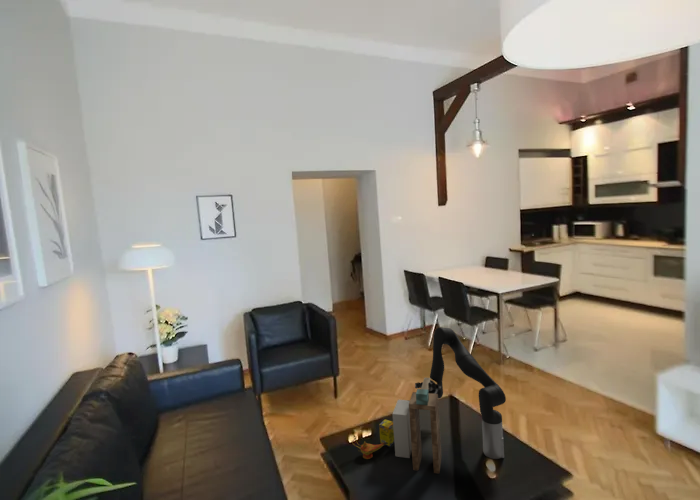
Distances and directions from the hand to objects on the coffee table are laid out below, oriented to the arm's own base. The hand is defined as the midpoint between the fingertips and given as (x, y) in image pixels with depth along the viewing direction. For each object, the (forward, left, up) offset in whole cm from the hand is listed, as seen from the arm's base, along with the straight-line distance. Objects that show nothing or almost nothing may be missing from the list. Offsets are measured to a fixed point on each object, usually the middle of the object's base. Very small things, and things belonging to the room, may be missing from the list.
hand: (425, 384), depth 183 cm
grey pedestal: (+13, -1, -35) cm, 37 cm away
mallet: (0, +3, -3) cm, 4 cm away
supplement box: (+22, -3, -35) cm, 42 cm away
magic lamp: (+28, +9, -35) cm, 46 cm away
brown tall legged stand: (0, +9, -35) cm, 36 cm away
